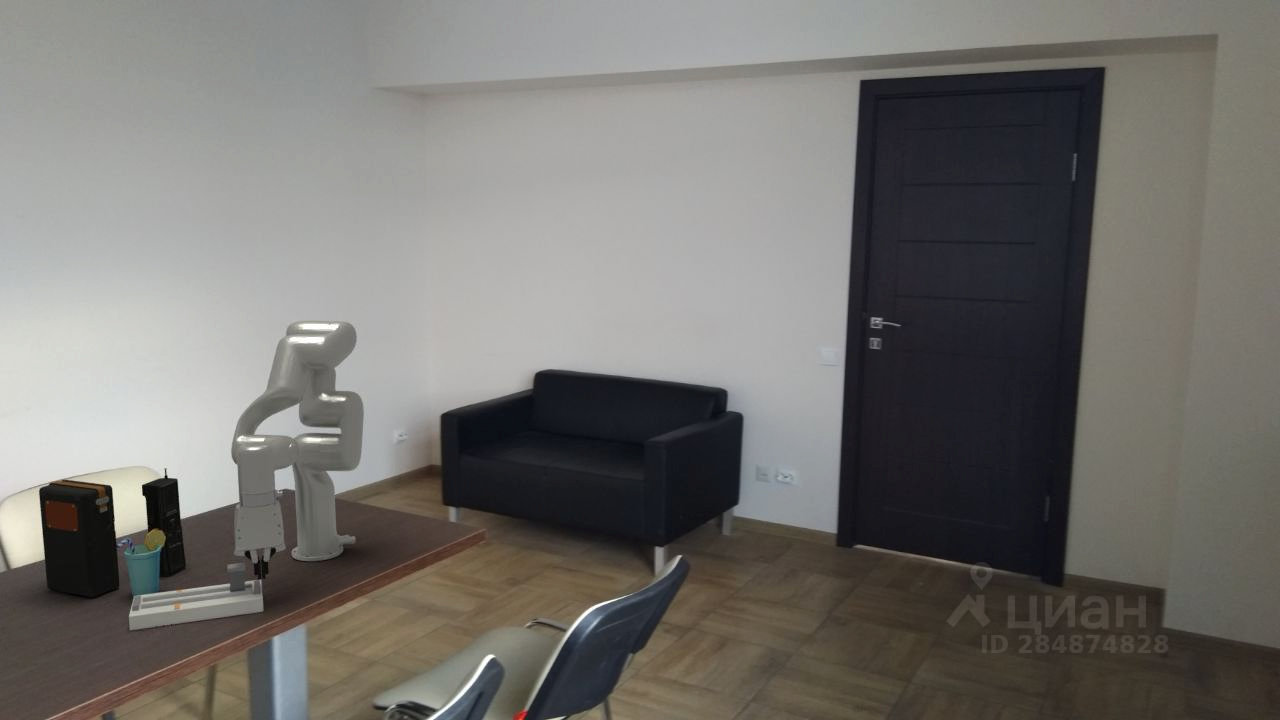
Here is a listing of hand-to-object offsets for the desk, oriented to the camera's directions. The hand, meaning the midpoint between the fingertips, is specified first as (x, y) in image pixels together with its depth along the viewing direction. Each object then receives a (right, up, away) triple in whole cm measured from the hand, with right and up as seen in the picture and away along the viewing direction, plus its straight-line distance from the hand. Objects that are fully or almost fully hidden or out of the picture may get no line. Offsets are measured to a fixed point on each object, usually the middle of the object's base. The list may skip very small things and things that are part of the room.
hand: (261, 577), depth 213 cm
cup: (-29, -5, +4) cm, 29 cm away
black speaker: (-44, -5, +7) cm, 45 cm away
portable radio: (-30, -3, +18) cm, 36 cm away
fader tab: (-5, -3, -2) cm, 6 cm away
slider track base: (-12, -6, -4) cm, 14 cm away
